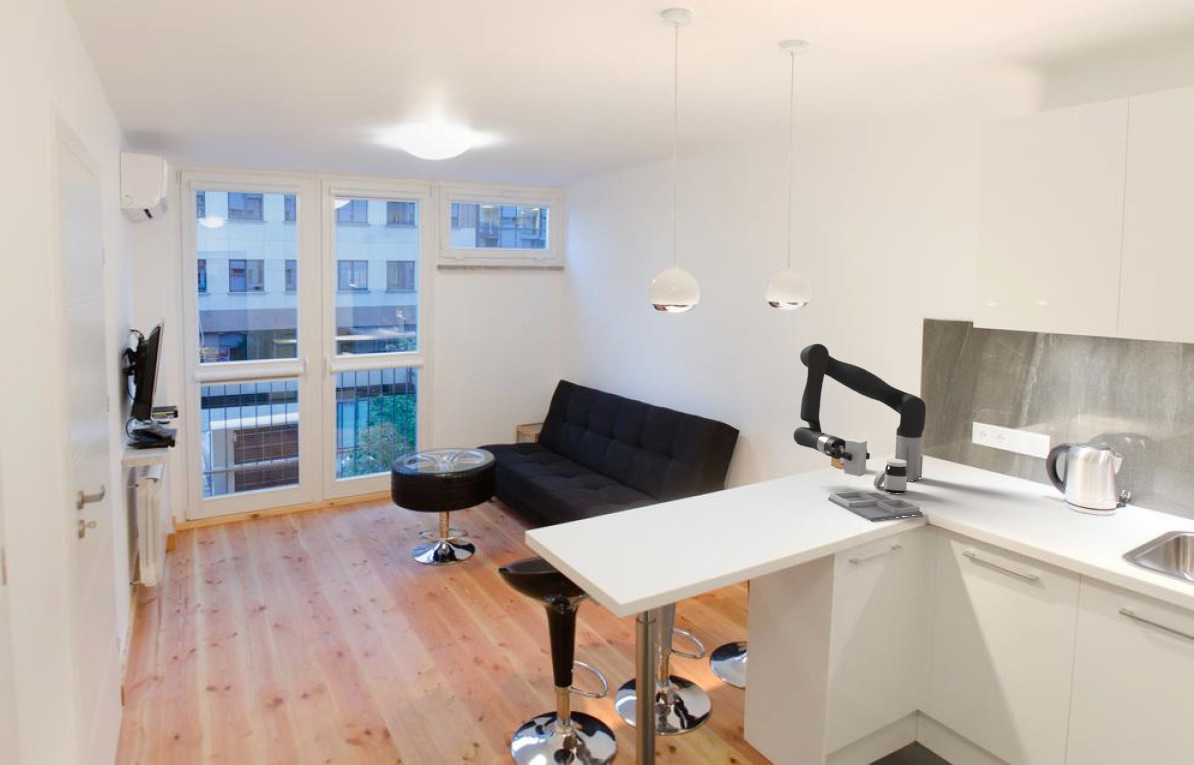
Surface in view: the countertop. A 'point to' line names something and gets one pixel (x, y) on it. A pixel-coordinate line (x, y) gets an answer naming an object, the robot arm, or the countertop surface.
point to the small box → (838, 463)
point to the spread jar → (893, 476)
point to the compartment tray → (874, 505)
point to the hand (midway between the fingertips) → (860, 457)
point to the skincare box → (856, 457)
